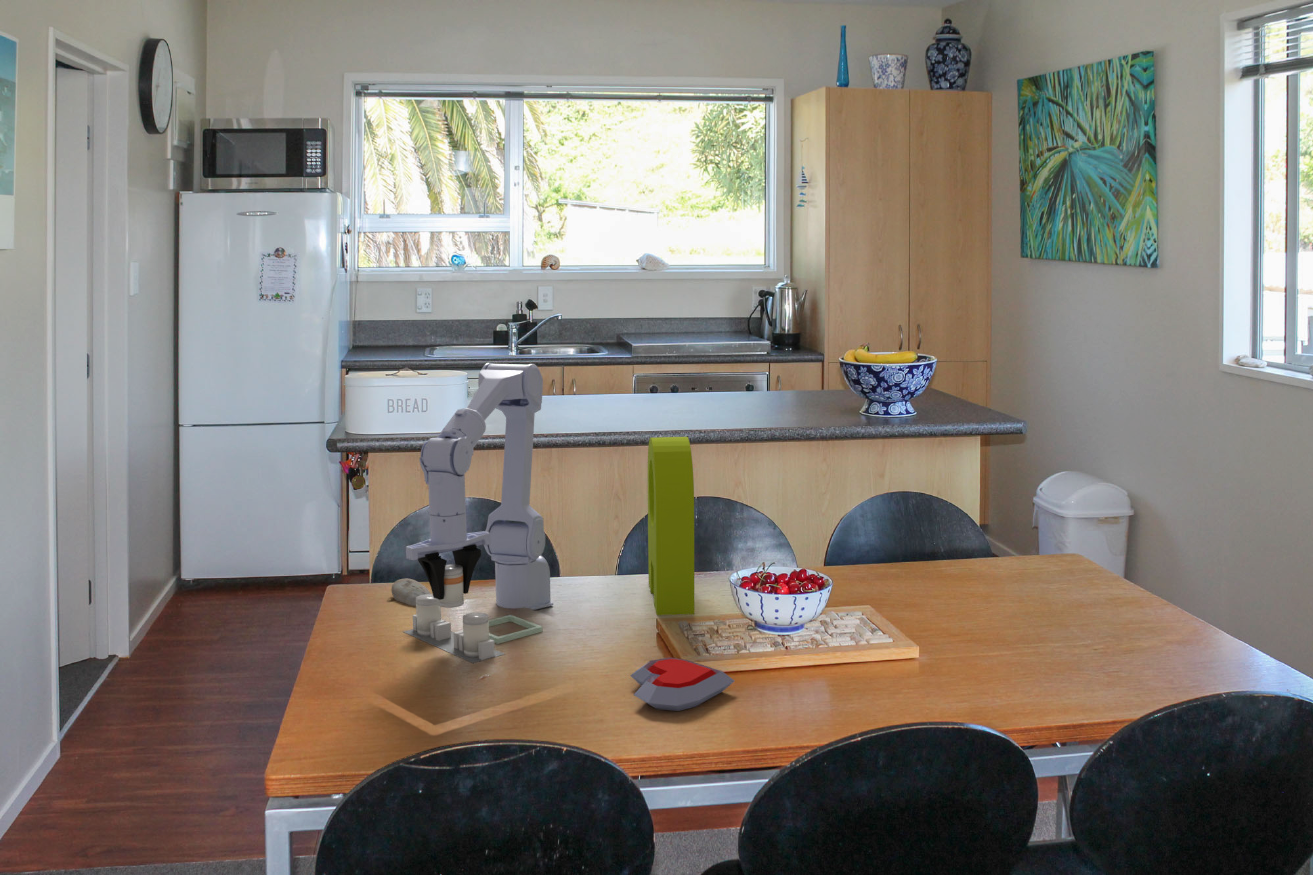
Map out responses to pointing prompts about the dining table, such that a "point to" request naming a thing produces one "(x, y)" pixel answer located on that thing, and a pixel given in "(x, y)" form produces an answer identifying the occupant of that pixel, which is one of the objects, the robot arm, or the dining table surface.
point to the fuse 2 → (474, 632)
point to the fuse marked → (453, 587)
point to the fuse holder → (453, 641)
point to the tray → (532, 630)
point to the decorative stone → (408, 591)
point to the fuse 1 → (426, 613)
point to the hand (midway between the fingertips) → (450, 595)
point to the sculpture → (678, 683)
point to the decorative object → (671, 525)
